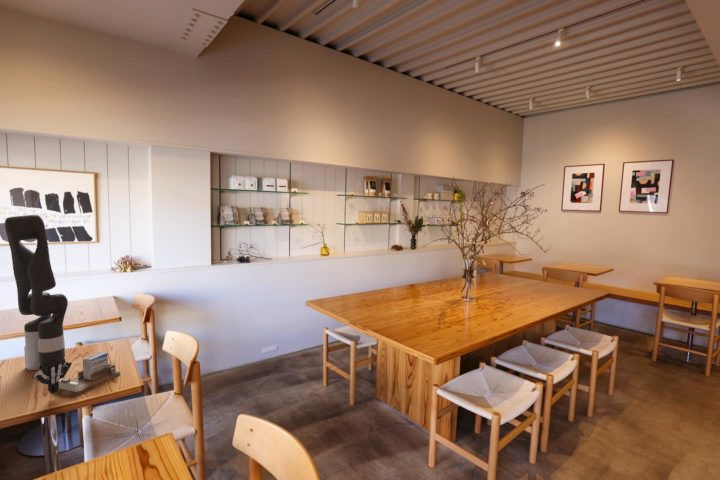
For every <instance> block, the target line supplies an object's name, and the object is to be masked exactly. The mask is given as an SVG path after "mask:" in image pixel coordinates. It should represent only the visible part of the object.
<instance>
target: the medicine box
mask: <svg viewBox="0 0 720 480" xmlns="http://www.w3.org/2000/svg"><path fill="white" fill-rule="evenodd" d="M108 364H109V353H107V352H104V351H99V352H97V353H95V354H93V355H89V356H88V357H84V358H83V359H82V370H83V376H84V379H90V380H91V375H92V374H94V373H96V372H98V371H100V370H103V369H105V368H107V367H108Z"/></svg>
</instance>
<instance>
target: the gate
mask: <svg viewBox="0 0 720 480" xmlns="http://www.w3.org/2000/svg"><path fill="white" fill-rule="evenodd" d="M70 380H71V378H68V377H64V378H61V379H60V381H59V388H60V389H64V390H69V391H74V392H77V391H79V383H76V382H71V381H70Z"/></svg>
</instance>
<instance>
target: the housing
mask: <svg viewBox="0 0 720 480" xmlns="http://www.w3.org/2000/svg"><path fill="white" fill-rule="evenodd" d="M119 375H121V372H120V371H116V364H113V363H108V367H107V368H105V369H103V370H100V371H98V372H96V373H94V374H92V375H91V380H90V379H84V376H83V369H82V370H80V371H78V372H77V376H76V377H75V378H72V379H70V381H71V382H76V383H79V391H77V392H74V391H69V390H64V389H60V388H59V389H58V391H57V392H55V393H54V394H57V395H61V396H65V397H71V398H75V397H78V396H79V395H81V394H83V393H85V392H87V391H89V390H91V389H94V388H96V387H98V386H99V385H102V384H104V383H106V382H109V381H110V380H112V379H113V378H116V377H118V376H119Z"/></svg>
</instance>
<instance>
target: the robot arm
mask: <svg viewBox="0 0 720 480" xmlns="http://www.w3.org/2000/svg"><path fill="white" fill-rule="evenodd" d="M4 229H5V235H6V237H7V240H8V241H7V242H8V245H9V250H10V254H11V261H12V270H13V276H14V279H15V285H16V289H17V290H16V292H17V305H18V311H19V313H20V315H22V316H32V315H34V316H36V317H38V318H36V319H32V320H30V321H28V322H27V323H25V324H24V327H23V328H24V329H23V330H24V342H25V346H24V362H25V363H24V364H25V367H24V368H26V370H27V371H37V372H36V373H33V374H32V375H31V377H32V378H33V379H34V380H36V381H38V383H39V382H40V383H41V384H43V385H47V391H48V392H49V393H51V394H56V393H55V392H57V391H58V389H59V381H60V379H61V380H62V379H64V378H65V376H66V374H67V373H68V371H69V370H70V368H71V366H72V362H70V361H66V359H65V358H66V347H65V338H64V329H63V328H64V327H63V326H64V325H63V324H64V319H65V316H66V312H67V309H68V304H69V302H68V301H69V300H68V298H67V296H66V295H64V294H63V293H54V294H50V292H48V291H49V290H52V289H54V288H55V287H56V285H57V282H56V278H55V276H54V272H53V268H52V265H51V258H50V248H49V244H48V236H47V230H46V225H45V222H44V220H43V218H42V216H41V215H40V214H26V215H25V214H24V215H17V216H16V215H14V216H9V217H7V218H6V219H5V221H4ZM33 239H34V240H36V248H35V251H34V252H33V250H31V249H29V248H28V247H26V246H25V245H24V244H23V243H22V241H28V240H33ZM30 292H31V293H30Z"/></svg>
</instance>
